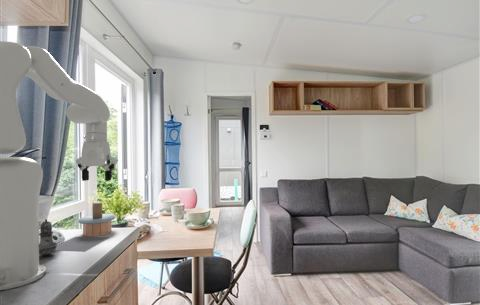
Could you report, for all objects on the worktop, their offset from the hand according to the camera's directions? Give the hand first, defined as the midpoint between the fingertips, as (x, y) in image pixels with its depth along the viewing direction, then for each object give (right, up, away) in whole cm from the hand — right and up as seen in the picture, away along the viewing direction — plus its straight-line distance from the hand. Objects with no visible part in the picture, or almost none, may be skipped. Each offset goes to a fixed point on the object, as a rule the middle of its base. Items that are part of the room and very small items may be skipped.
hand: (96, 180), depth 107 cm
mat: (+1, -22, -13) cm, 25 cm away
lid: (0, -16, 0) cm, 16 cm away
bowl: (0, -21, 0) cm, 21 cm away
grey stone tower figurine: (-3, -22, -23) cm, 32 cm away
